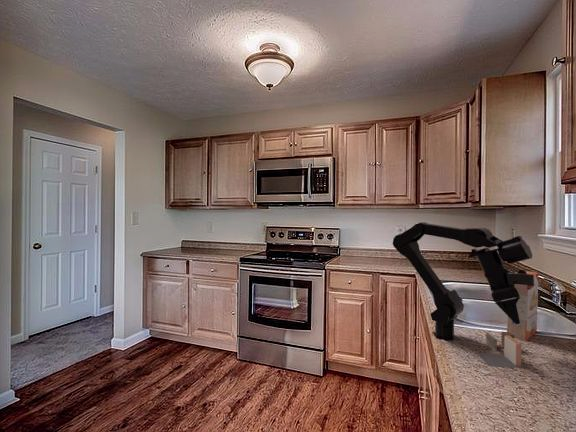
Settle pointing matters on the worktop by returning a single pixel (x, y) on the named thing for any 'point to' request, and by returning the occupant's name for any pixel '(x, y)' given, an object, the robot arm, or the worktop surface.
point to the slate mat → (497, 360)
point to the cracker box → (525, 311)
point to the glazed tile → (512, 350)
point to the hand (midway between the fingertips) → (516, 320)
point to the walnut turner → (493, 341)
